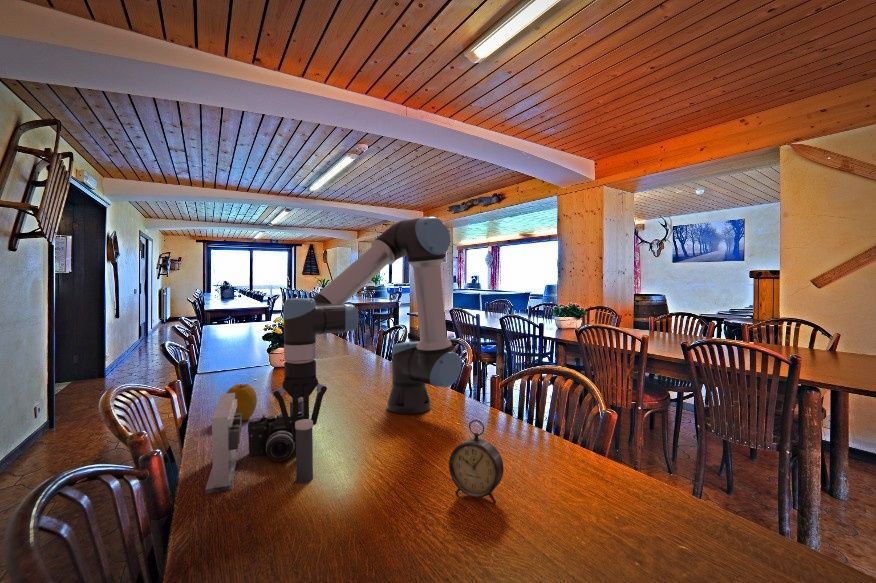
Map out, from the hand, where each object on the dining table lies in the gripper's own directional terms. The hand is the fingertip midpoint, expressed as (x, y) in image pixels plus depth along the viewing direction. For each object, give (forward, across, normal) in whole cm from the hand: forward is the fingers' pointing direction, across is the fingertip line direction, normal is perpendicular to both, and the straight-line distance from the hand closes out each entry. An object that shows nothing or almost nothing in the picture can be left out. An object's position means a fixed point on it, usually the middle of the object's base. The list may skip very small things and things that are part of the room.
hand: (301, 453), depth 105 cm
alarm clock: (+2, -33, +32) cm, 46 cm away
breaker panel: (+2, +17, 0) cm, 17 cm away
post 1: (+2, 0, -11) cm, 11 cm away
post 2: (+2, 0, +11) cm, 11 cm away
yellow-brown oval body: (+2, +16, -38) cm, 41 cm away
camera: (+2, +6, -5) cm, 8 cm away
